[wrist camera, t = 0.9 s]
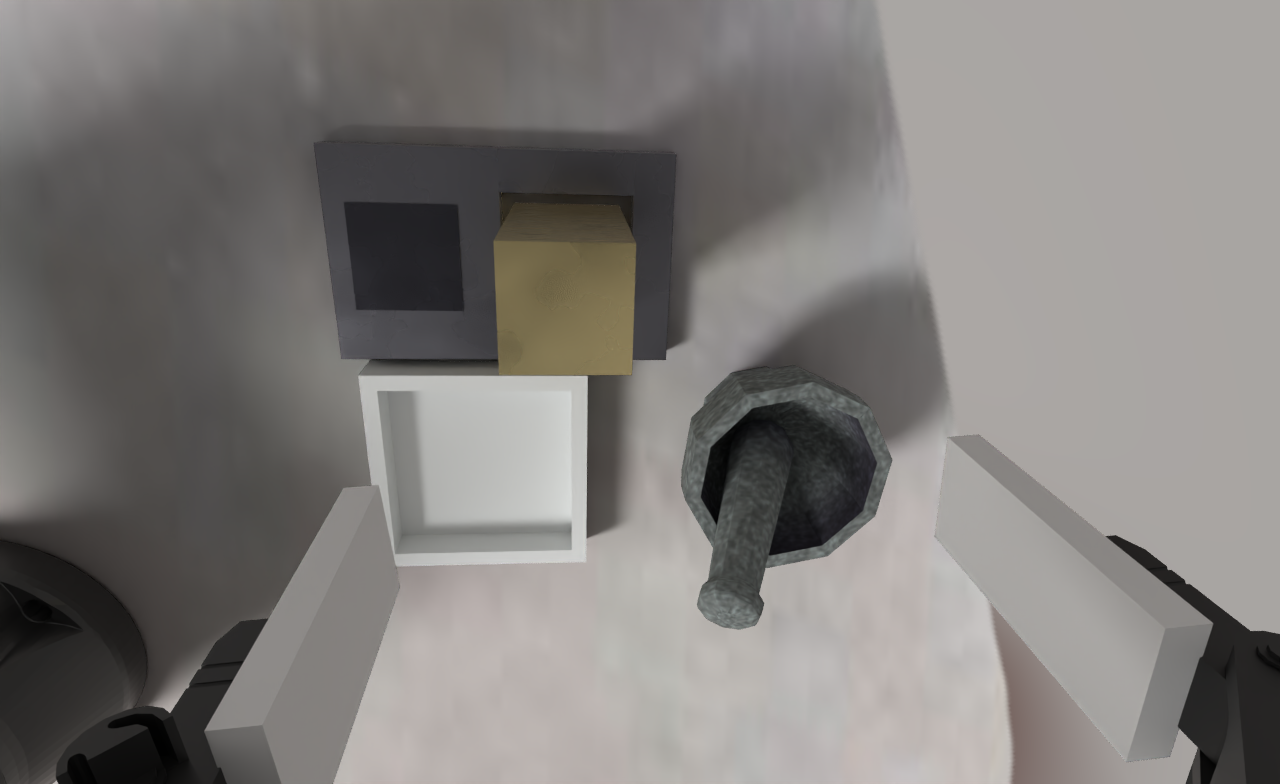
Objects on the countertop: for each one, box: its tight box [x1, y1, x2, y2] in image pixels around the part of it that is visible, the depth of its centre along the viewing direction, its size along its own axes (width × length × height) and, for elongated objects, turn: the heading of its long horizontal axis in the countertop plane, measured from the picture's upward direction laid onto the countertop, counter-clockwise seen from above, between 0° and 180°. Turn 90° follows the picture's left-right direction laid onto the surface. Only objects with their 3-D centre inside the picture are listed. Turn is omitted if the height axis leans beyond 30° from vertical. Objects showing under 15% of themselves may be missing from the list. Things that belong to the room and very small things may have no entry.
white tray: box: [358, 360, 588, 566], centre depth 38 cm, size 11×11×2 cm
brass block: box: [493, 203, 636, 375], centre depth 31 cm, size 5×5×10 cm
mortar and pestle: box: [681, 365, 892, 629], centre depth 34 cm, size 11×9×12 cm
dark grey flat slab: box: [314, 141, 676, 360], centre depth 34 cm, size 16×10×1 cm, turn 88°
